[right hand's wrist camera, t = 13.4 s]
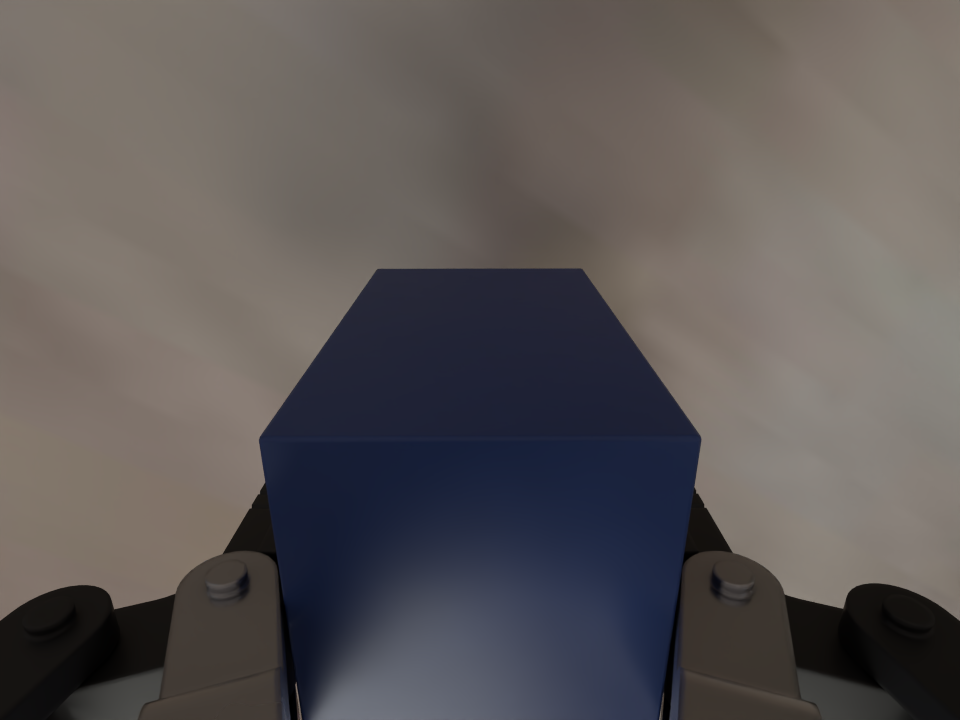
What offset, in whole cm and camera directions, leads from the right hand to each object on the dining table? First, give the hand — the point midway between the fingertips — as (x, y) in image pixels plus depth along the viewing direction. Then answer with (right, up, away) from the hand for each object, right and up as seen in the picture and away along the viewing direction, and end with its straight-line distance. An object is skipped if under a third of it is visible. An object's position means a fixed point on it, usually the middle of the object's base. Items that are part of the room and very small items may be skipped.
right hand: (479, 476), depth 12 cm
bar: (0, -6, +6) cm, 8 cm away
